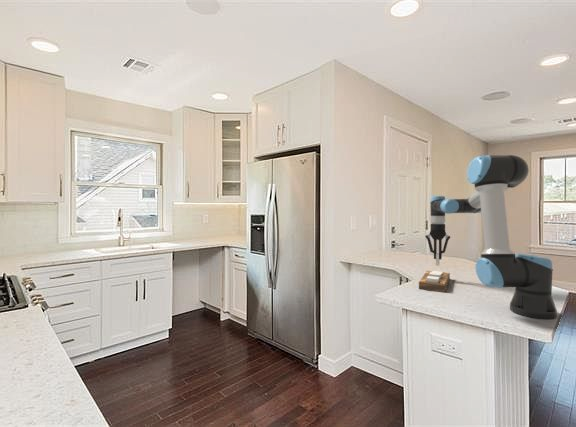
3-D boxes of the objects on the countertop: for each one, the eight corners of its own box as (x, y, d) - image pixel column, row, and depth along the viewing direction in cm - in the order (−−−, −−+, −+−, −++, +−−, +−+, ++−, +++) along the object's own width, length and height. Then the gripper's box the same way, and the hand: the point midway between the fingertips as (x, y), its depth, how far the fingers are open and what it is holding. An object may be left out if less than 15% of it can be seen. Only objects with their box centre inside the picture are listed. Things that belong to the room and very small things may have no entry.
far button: (441, 278, 179) (442, 273, 179) (431, 277, 182) (431, 272, 182) (442, 276, 184) (442, 271, 184) (432, 275, 187) (432, 270, 187)
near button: (438, 284, 162) (438, 279, 162) (426, 283, 165) (426, 278, 165) (439, 282, 167) (439, 277, 167) (427, 281, 169) (427, 275, 169)
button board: (444, 292, 158) (444, 284, 158) (418, 289, 165) (418, 281, 164) (449, 279, 184) (449, 272, 184) (426, 276, 190) (427, 270, 190)
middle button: (440, 280, 171) (440, 275, 171) (429, 279, 173) (429, 274, 173) (441, 278, 175) (441, 273, 175) (430, 276, 178) (430, 272, 178)
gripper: (451, 223, 182) (451, 265, 182) (426, 222, 188) (426, 263, 189) (450, 223, 175) (450, 267, 176) (424, 223, 182) (424, 265, 182)
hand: (437, 265), depth 182 cm, fingers closed
